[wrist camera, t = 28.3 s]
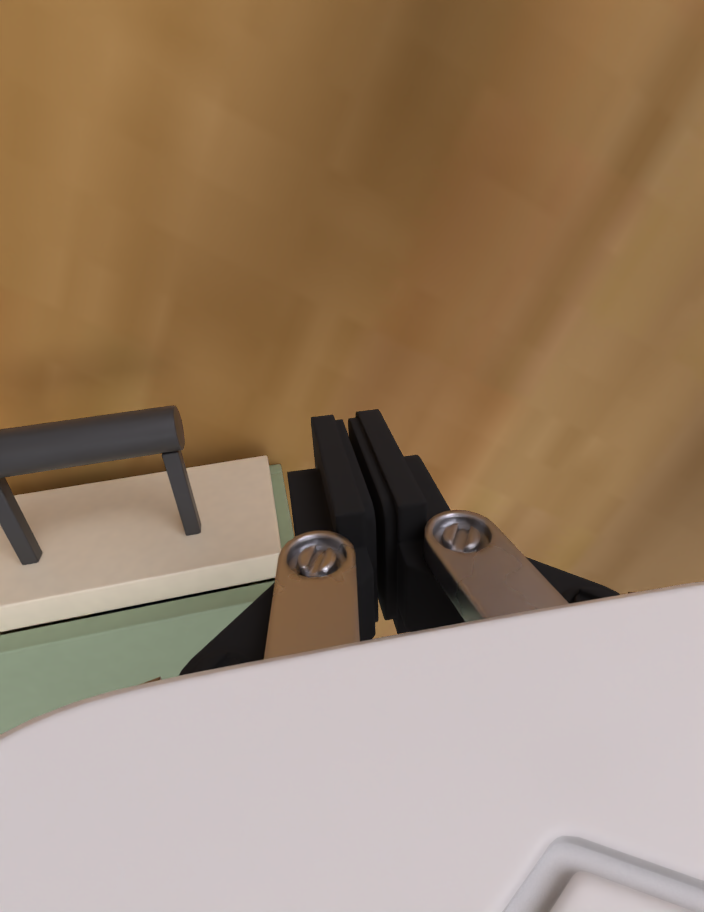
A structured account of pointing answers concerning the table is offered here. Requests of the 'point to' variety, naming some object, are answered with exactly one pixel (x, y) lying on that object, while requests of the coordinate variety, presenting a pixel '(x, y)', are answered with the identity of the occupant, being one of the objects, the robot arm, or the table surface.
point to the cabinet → (118, 643)
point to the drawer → (126, 521)
